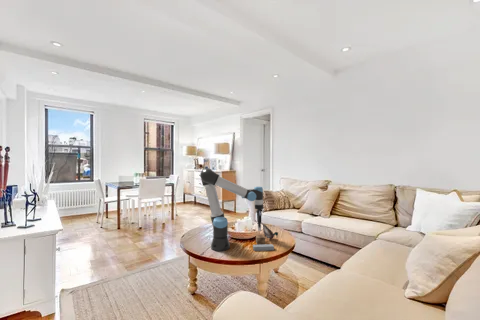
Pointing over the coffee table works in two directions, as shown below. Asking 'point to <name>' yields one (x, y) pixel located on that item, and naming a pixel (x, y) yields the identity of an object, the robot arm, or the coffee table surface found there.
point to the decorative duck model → (268, 232)
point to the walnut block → (260, 239)
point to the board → (263, 247)
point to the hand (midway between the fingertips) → (259, 230)
